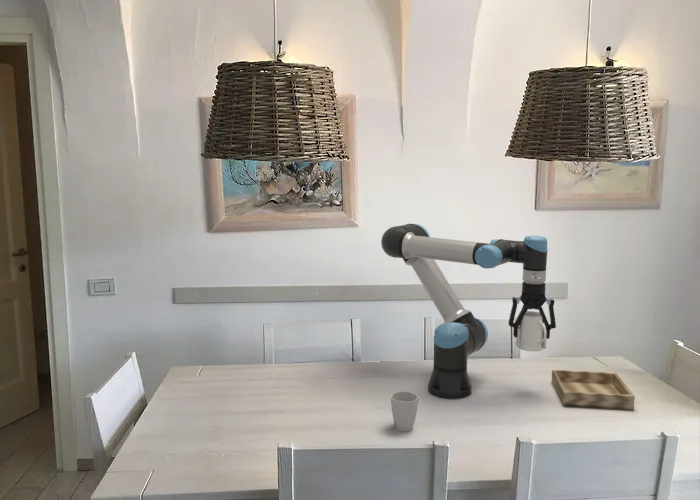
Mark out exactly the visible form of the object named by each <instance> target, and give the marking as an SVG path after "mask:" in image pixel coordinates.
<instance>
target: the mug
mask: <svg viewBox="0 0 700 500" xmlns="http://www.w3.org/2000/svg"><path fill="white" fill-rule="evenodd" d="M518 327H519V328H520V343H519V348H518V349H519V350H522V351H526V352H541V351H543V350H544V349H543V342H544V340H545V338H546V327H545V324H544V321H543V319H542V316H541V315H540V312H539V311H535V310H534V311H531V310H527V312H526V313H525V315H524V317H523V319H522V321H521V323H520V325H519V326H518ZM543 329H544V338H543Z"/></svg>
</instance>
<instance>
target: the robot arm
mask: <svg viewBox="0 0 700 500" xmlns="http://www.w3.org/2000/svg"><path fill="white" fill-rule="evenodd" d="M381 248H382V250H383V252H384V253H385V254H386V255H387V256H389V257H391V258H394V259H395V258H397V259H398V258H399V259H402V260H403V261H404V263H405V265H407V266H411V267H412V269H413V271H414V272H415V274H416V276H417V278H418V279H419V281H420V283H422V285H423V287H424V289H425V290H426V292H427V295H429V297H430V299H431V301H432V302H433V304H434V306H435V308H436V309H437V310H438V312H439V314H440V315H441V318H442V319H443V321H444V323H441V324H439V325H438V326H436V327H435V329H434V334H433V366H432V367H433V368H432V372H431V375H430V377H429V381H428V383H427V392H428V393H430V395H432V396H434V397H437V398H440V399H445V400H459V399H465V398H468V397H469V396H471V395H472V383H471V380H470V376H469V374H468V356H471V355H472V354H474V353H476V352H477V351H479V350H481V349H482V348H483V347H484V346H485V345H486V343H487V341H488V338H489V337H488V336H489V332H488V328H487V326H486V324H485V322H484V321H482V320H481V319H480V318H477V317H475V316H474V315H473V313H472V311H471V310H468V309H465V307H464V306H463V304H462V303H461V301H460V299H459V297H458V296H457V294H456V293H455V291H454V290H453V288H452V286H451V285H450V283H449V281H448V279H447V278H446V276H445V275H444V273H443V271H442V270H441V268H440V267H439V265H438V264H437V262H436V260H437V261H446V262H451V263H458V264H459V263H461V264H469V265H475V266H476V265H477V266H479V267H480V268H482V269H494V268H496V267H498V266H500V265H503V264H507V263H513V264H514V263H517V264H522V279H521V280H522V281H523V282H522V284H521V295H520V296H519V297H512V298H511V301H512V302H511V303H512V305H511V310H510V313H509V319H508V323H507V324H508V326H509V327H512V328H513V334H512V335H513V337H514V338H516V340H515V341H516V342H515V346H516V348H518V349H519V343H520V328H519V325H520V323H521V321H522V319H523V317H524V315H525V313H526V312H527V311H529V310H538V312H540V315H541V316H542V319H543V321H544V326H545V328H546V338H545V340H544V342H543V350H546V349H547V340H549V339H550V336H551V330H552V329H556V327H557V324H556V317H555V309H554V306H555V300H554V299H553V298H548V297H546V281H547V280H546V279H547V259H548V251H549V250H548V239H547V238H546V236H542V235H526V236H524V240H523V241H522V240H510V239H502V238H500V239H492V240H491V241H490V242H489V243H485V242H477V241H476V242H475V241H468V240H458V239H451V238H450V239H449V238H441V237H439V238H438V237H431V235H430V233H429V232H428V230H427V229H426V228H425V227H424V226H423V225H421V224H418V223H407V224H403V225H396V226H391V227H389V228H388V229H387V230H385V231H384V233H383V234H382V236H381ZM520 301H521V302H522V304H523V305H522V307H521V310H520V312H519V313H518V315H517V317H515V316H516V312H517V308H518V304H520ZM545 303H546V305H548V312H549V319H550V324H549V321H548V319H547V317H546V313H545V312H544V309H543V305H544V304H545ZM515 318H516V319H515ZM543 338H544V329H543Z"/></svg>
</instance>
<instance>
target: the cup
mask: <svg viewBox="0 0 700 500" xmlns="http://www.w3.org/2000/svg"><path fill="white" fill-rule="evenodd" d="M390 402H391V413H392V420H393V423H394V426H395V429H396V430H397V431H399V432H410V431H412V430H413V428H414V425H415V422H416V419H417V418H416V416H417V414H418V413H417V412H418V404H419V395H418V394H416V393H414V392H412V391H411V392H410V391H405V390H404V391H403V390H401V391H397V392H393V393H392V394H391V396H390Z"/></svg>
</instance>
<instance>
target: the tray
mask: <svg viewBox="0 0 700 500" xmlns="http://www.w3.org/2000/svg"><path fill="white" fill-rule="evenodd" d="M550 382H551V385H552V387H553V389H554V391H555V393H556V396H557V397H558V399H559V401H560V403H561V405H562V407H565V408H578V409H596V410H597V409H598V410H610V411H613V410H615V411H627V412H628V411H629V412H633V411H635V410H634V409H635V398H636V397H635V395H634V393H633V392H632V391H631V390H630V389H629V387H628V386H627V385H626V384H625V382H624V381H623V380H622V378H620V376H619V375H618V374H617V373H616V372H608V371H607V372H606V371H605V372H604V371H603V372H602V371H587V370H586V371H585V370H567V369H566V370H564V369H563V370H562V369H551V381H550Z"/></svg>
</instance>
